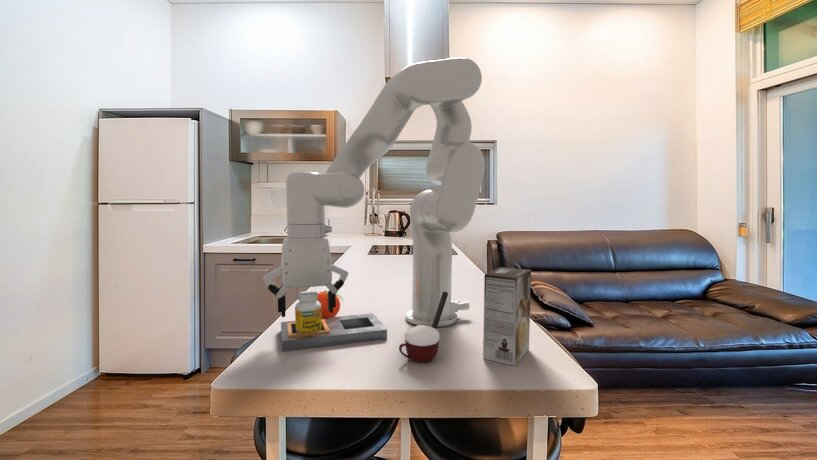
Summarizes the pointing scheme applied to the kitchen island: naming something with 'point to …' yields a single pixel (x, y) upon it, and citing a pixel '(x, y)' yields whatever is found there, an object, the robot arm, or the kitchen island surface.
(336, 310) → the clementine
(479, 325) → the kitchen island surface
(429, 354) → the cocoa
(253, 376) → the kitchen island surface
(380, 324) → the two-pocket grey tray
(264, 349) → the kitchen island surface
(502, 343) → the coffee box
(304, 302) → the supplement bottle
